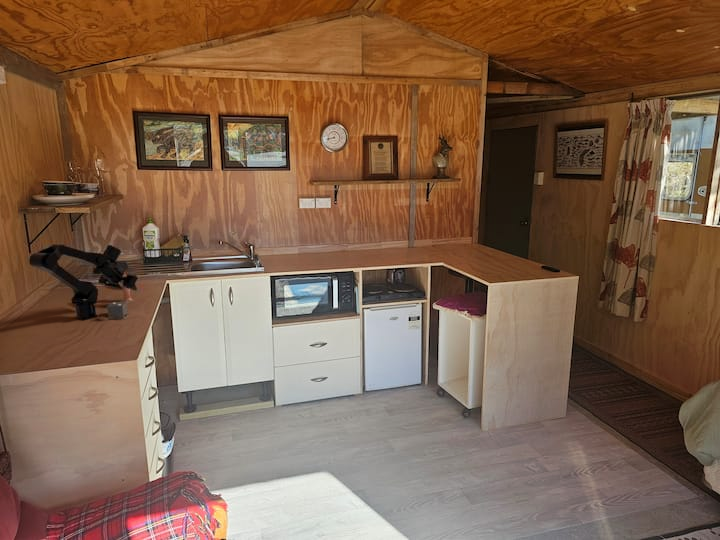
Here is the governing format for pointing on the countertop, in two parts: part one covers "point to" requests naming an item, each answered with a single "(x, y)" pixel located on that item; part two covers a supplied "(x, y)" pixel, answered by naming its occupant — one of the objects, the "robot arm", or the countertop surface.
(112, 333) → the countertop surface
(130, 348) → the countertop surface
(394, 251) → the countertop surface
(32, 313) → the countertop surface
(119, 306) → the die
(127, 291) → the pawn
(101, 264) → the robot arm
